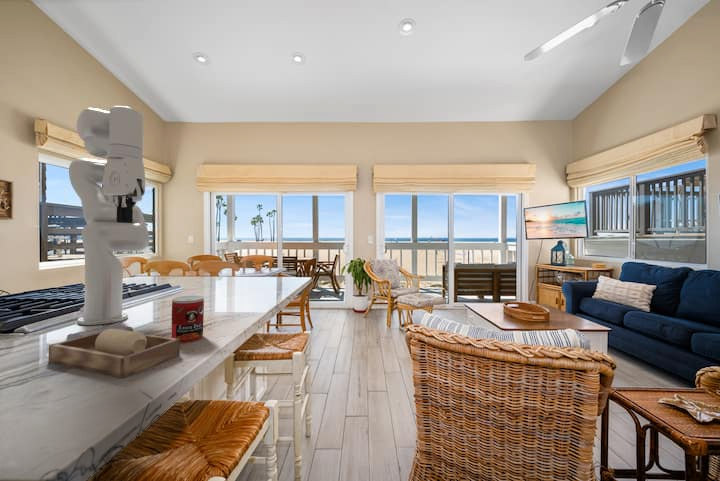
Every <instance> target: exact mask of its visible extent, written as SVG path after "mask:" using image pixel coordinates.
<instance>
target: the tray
mask: <svg viewBox="0 0 720 481" xmlns="http://www.w3.org/2000/svg"><path fill="white" fill-rule="evenodd" d="M102 332H103V331H102ZM100 333H101V332H98V333H95V334H91V335H87V336H83V337H79V338H75V339H71V340H67V341H66V340H64V341H60V342H56V343H52V344H48V364H53V365H56V366H57V365H58V366H62V367H68V368H71V369H77V370H82V371H88V372H92V373H95V374H101V375H105V376H111V377H116V378H121V379H126V378H129V377H130V376H132V375H136V374H137V373H139V372H142V371H146V370H147V369H150V368H152V367H155V366H157V365H160V364H162V363H165V362H167V361H169V360H172V359H174V358H177V357H179V356H181V354H180V352H181V350H180V349H181V343H180V339H176V338H172V337H169V336H163V335H162V336H161V335H154V334H147V333H143V334H144V335H145V336H146V339H147V344H146V348H145V350H142V351H139V352H136V353H134V354H131V355H128V356H121V355H115V354H110V353H104V352H98V351H97V350H96V348H95V341H96V339H97V337H98V335H99V334H100Z"/></svg>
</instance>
